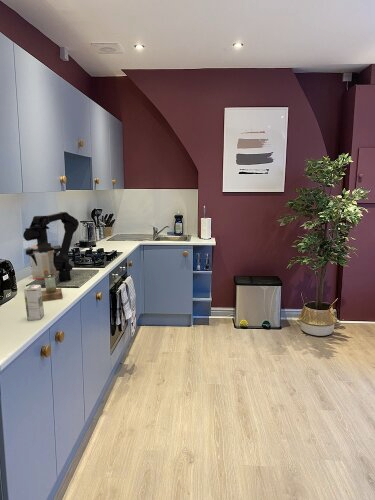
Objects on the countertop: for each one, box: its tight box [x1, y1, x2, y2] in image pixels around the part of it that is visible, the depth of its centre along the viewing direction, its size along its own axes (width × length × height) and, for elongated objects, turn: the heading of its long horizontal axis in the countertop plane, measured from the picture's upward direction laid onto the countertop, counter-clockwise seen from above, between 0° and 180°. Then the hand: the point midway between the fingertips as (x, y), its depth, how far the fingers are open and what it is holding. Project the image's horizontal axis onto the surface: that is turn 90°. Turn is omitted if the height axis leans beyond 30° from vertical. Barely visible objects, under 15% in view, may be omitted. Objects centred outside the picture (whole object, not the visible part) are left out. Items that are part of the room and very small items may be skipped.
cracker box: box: [28, 245, 57, 281], centre depth 237 cm, size 14×6×21 cm, turn 71°
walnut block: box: [41, 287, 63, 303], centre depth 198 cm, size 10×10×3 cm
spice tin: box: [44, 274, 57, 293], centre depth 197 cm, size 5×5×9 cm
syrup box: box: [23, 284, 45, 321], centre depth 168 cm, size 6×6×14 cm
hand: (45, 264), depth 217 cm, fingers open, 9 cm apart
